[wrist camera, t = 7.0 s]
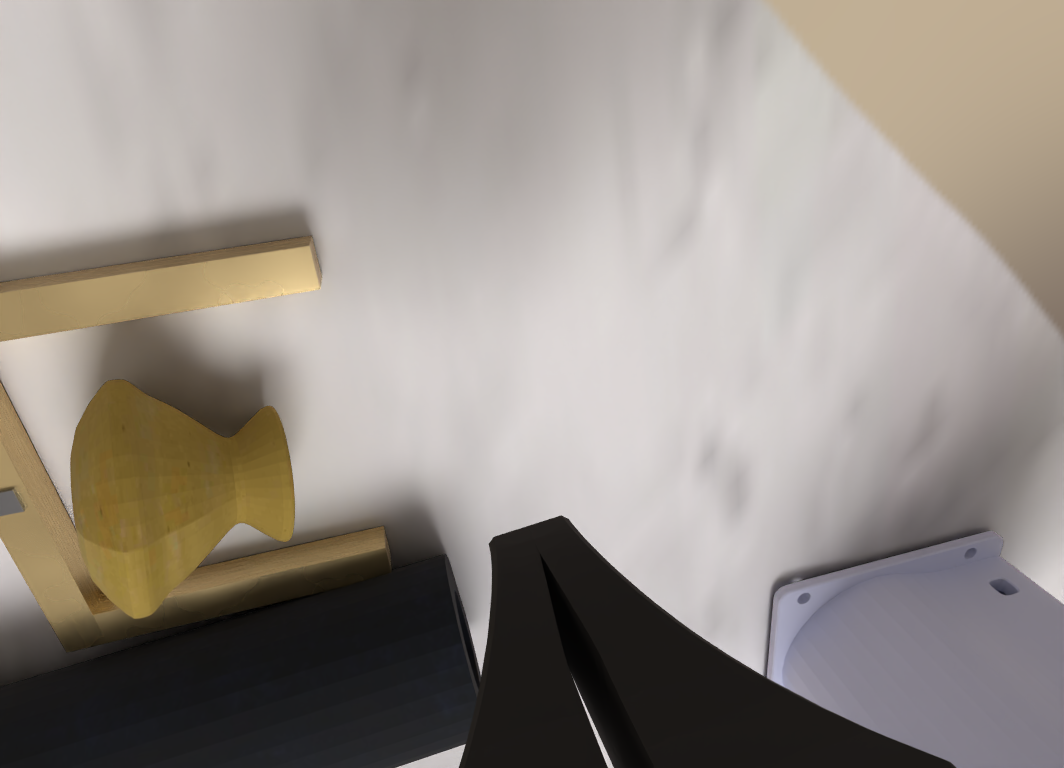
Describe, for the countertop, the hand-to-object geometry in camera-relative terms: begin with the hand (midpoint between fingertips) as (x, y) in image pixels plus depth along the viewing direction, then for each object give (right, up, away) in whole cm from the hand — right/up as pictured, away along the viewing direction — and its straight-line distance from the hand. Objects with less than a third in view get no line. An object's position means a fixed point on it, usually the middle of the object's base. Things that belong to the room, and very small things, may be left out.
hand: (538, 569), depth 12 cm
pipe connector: (-9, -8, +10) cm, 16 cm away
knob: (-9, +2, +6) cm, 10 cm away
